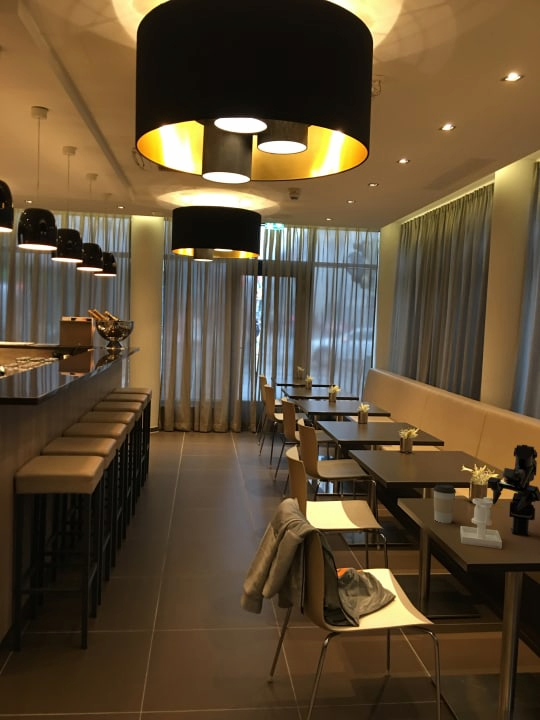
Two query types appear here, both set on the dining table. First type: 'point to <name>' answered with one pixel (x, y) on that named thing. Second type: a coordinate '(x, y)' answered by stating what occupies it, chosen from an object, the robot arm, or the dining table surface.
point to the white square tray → (471, 538)
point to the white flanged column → (482, 515)
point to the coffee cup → (444, 502)
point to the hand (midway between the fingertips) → (505, 506)
